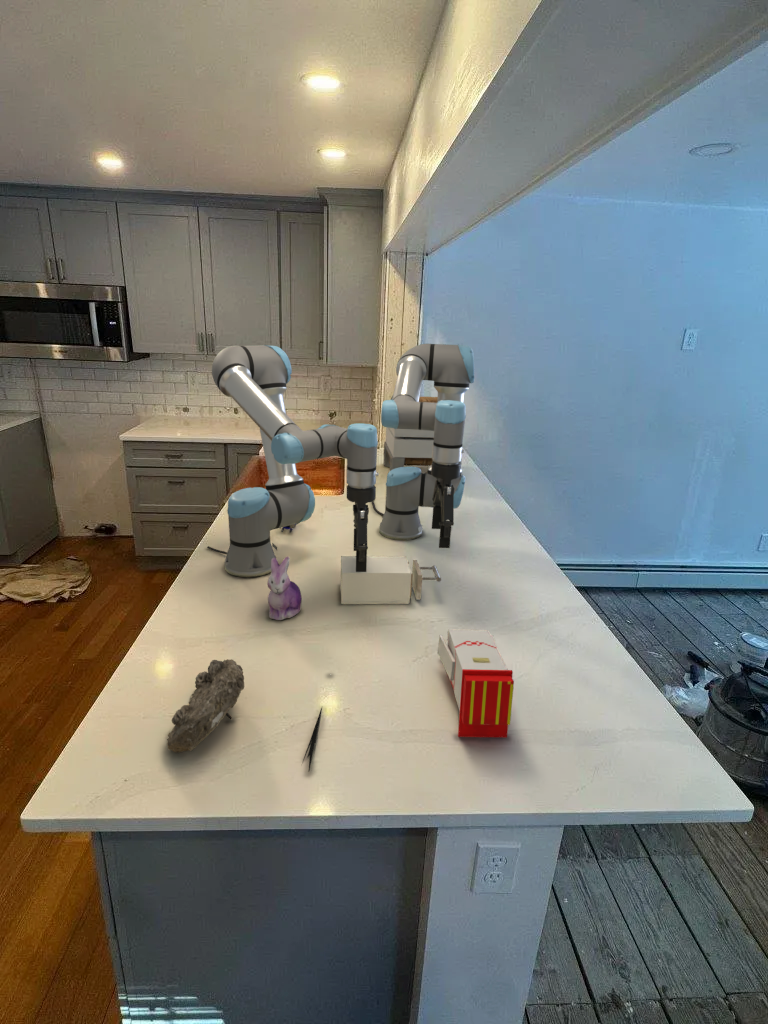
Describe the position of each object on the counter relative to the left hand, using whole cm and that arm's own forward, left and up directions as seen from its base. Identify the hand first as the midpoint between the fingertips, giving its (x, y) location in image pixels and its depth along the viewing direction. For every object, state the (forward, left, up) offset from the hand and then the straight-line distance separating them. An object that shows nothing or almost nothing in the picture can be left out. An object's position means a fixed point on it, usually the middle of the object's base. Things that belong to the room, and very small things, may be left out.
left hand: (359, 560), depth 153 cm
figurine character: (-43, +35, -11) cm, 56 cm away
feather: (+14, -49, -11) cm, 52 cm away
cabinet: (+4, +2, -11) cm, 11 cm away
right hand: (+19, +11, +6) cm, 23 cm away
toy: (+38, -28, -11) cm, 49 cm away
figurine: (-13, -17, -11) cm, 24 cm away
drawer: (+9, +5, -10) cm, 14 cm away
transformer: (-24, +126, -11) cm, 129 cm away
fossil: (-5, -57, -11) cm, 58 cm away
